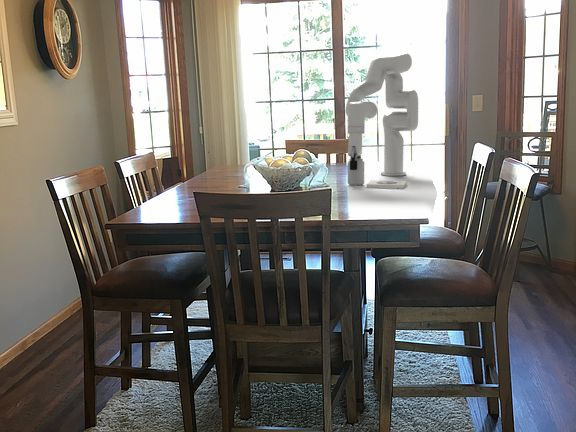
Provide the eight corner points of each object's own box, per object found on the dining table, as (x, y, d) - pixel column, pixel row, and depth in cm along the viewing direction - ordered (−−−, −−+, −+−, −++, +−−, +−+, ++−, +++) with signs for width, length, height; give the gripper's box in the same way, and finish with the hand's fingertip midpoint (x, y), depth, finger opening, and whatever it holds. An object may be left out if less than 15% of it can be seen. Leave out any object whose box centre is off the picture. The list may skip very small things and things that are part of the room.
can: (365, 186, 273) (365, 159, 271) (348, 186, 273) (348, 159, 271) (363, 183, 280) (363, 157, 278) (347, 184, 280) (347, 157, 278)
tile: (371, 183, 280) (371, 180, 280) (406, 184, 276) (406, 181, 275) (366, 187, 268) (366, 184, 268) (403, 188, 263) (403, 184, 263)
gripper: (351, 129, 281) (350, 166, 284) (343, 131, 265) (343, 170, 268) (367, 129, 279) (366, 167, 282) (361, 131, 263) (360, 170, 266)
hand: (355, 168), depth 275 cm, fingers open, 9 cm apart
